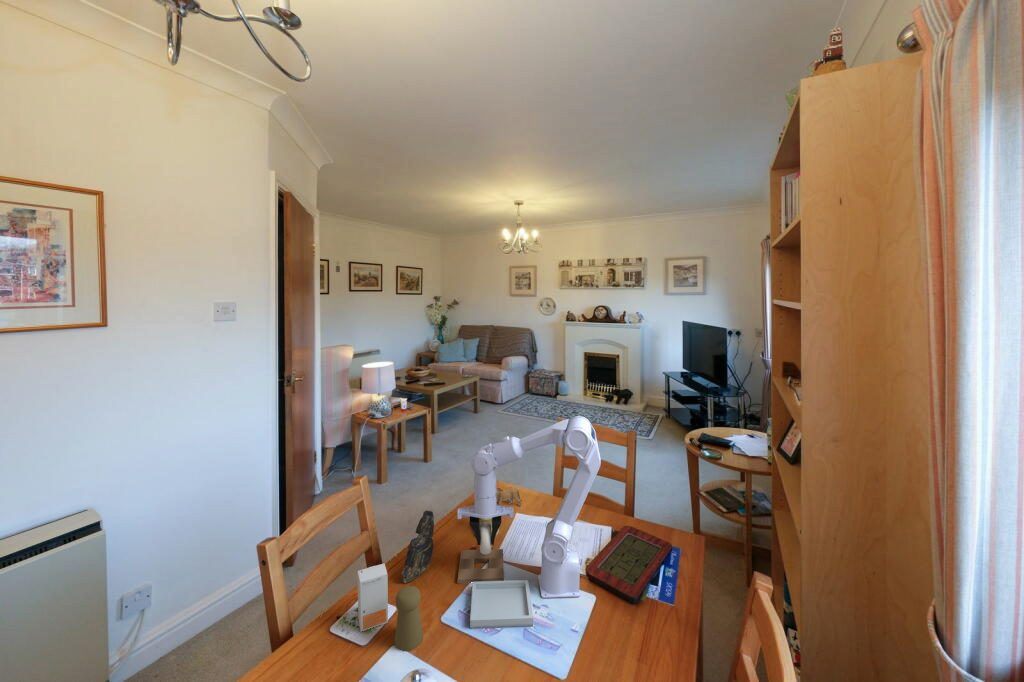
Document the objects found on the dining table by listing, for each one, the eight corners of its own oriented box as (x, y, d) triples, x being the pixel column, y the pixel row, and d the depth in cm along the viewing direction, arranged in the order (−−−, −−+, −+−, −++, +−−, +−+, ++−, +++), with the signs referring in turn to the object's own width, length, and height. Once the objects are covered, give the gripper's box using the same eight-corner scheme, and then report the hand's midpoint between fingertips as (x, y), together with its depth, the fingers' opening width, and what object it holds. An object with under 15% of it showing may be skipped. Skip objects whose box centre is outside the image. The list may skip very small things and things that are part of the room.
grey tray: (528, 587, 99) (528, 580, 99) (532, 626, 87) (533, 618, 87) (472, 589, 98) (472, 581, 98) (470, 628, 86) (470, 620, 86)
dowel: (491, 547, 104) (491, 522, 103) (491, 554, 101) (491, 528, 100) (480, 547, 104) (480, 522, 103) (479, 554, 101) (479, 528, 100)
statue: (394, 581, 101) (393, 526, 99) (425, 555, 111) (424, 505, 110) (411, 588, 98) (410, 532, 97) (440, 561, 109) (439, 510, 107)
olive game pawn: (415, 653, 80) (414, 604, 79) (389, 648, 81) (387, 599, 80) (427, 629, 86) (427, 583, 85) (402, 625, 87) (401, 579, 86)
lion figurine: (492, 517, 131) (492, 492, 130) (483, 511, 135) (483, 486, 134) (525, 504, 140) (526, 480, 139) (516, 498, 144) (516, 475, 143)
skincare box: (360, 633, 85) (358, 582, 84) (358, 619, 88) (356, 570, 87) (389, 623, 87) (387, 573, 86) (385, 610, 91) (384, 562, 90)
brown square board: (502, 552, 112) (502, 549, 112) (504, 582, 100) (504, 578, 100) (461, 554, 112) (461, 550, 112) (457, 584, 100) (457, 579, 100)
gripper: (512, 485, 105) (512, 533, 107) (458, 486, 105) (459, 534, 106) (513, 498, 98) (513, 549, 100) (456, 499, 98) (456, 550, 99)
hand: (485, 542), depth 102 cm, fingers closed on dowel, 3 cm apart
